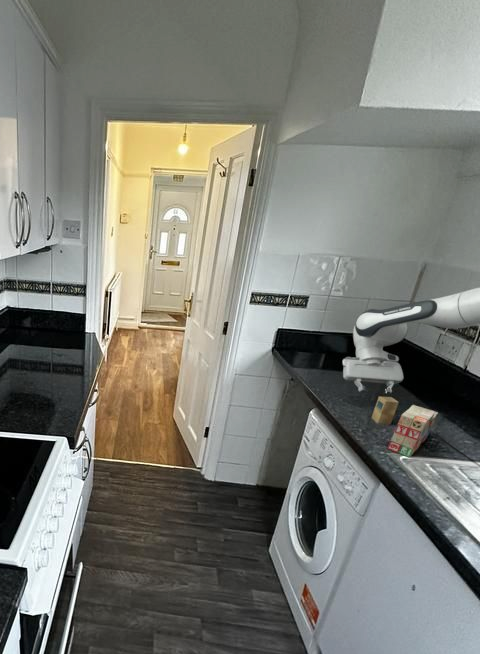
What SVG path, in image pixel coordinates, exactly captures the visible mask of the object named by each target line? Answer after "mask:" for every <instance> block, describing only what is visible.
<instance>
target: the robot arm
mask: <svg viewBox="0 0 480 654" xmlns="http://www.w3.org/2000/svg"><path fill="white" fill-rule="evenodd" d="M415 323H416V324H425V325H429V326H434V327H438V328H443V329H449V330H450V329H452V330H453V329H464V328H469V327H473V326H478V325H480V287H476V288H475V287H474V288H472V289H468V290H464V291H461V292H457V293H454V294H450V295H445V296H441V297H437V298H432V299H426V300H421V301H415V302H409V303H406V304H401V305H396V306H393V307H388V308H384V309H376V308H370V309H369V308H368V309H367V310H365V311H363V312H362V313H360V314H359V315H358V317H357V318H356V319H355V322H354V326H353V329H352V330H353V332H352V339H353V345H354V347H355V357H354V356H353V357H351V356H346V357H344V358H343V359H342V362H341V363H342V366H343V369H342V377H343V379H344V380H345V381H350V382H353V384H354V385H355V386H356V387H357V388H358V389H357V390H358V392H361V393H362V392H363V393H364V392H365V391H366V385H363V384H362V383H361V382H363V383H376V384H385V386H387V387H386V388H384V394H387V395H390V394H392V393H393V390H392V388H393V386H394V385H398V384H399V383H402V382H403V380H404V378H405V377H404V372H403V369H402V366H401V364H400V363H399V360H400V357H399V356H398V355H396V354H392V353H389V352H388V351H385V350H384V347H389V346H392V345H395V344H398V343H400V342H402V341H403V340H404V339H405V338H406V337H407V334H408V331H409V326H408V324H415Z"/></svg>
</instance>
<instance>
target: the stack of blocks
mask: <svg viewBox="0 0 480 654" xmlns="http://www.w3.org/2000/svg"><path fill="white" fill-rule="evenodd" d="M438 414H439V412H438V411H434V410H432V409H428V408H426V407H425V408H424V407H422V406H417V405H415V404H412V405H411V406H410V407H409V408H408V409H406V410H405V411H404V412H403V413H402V414H401V416H400V418H399V420H398V422H397V425H396V426H395V429H394V430H393V431H394V432H393V435H392V437H391V439H390V441H389V443H388V445H387V447H386V449H387V450H389V451H392V452H394V453H397V454H400V455H402V456H405V457H408V458H411V457H412V455H413V454H414V453H415V452H416V451H417V450H418V449H419V447H420V446H421V445H422V444H423V443H424V442H425V440H426V439H427V438H428V437H429V434H430V432H431V430H432V428H433V426H434V424H435V422H436V418H437V417H438Z"/></svg>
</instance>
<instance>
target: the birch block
mask: <svg viewBox="0 0 480 654" xmlns="http://www.w3.org/2000/svg"><path fill="white" fill-rule="evenodd" d="M399 404H400V402H399V401H398V400H396V399H395V398H393V397H392V396H382V395H381V396H378V398H377V400H376V404H375V406H374V409H373V412H372V415H371V417H370V418H371V419H372V420H373V421H374V422H375V423H376V424H379V425H388V426H391V425H392V421H393V419H394V416H395V414H396V411H397V408H398V406H399Z"/></svg>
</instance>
